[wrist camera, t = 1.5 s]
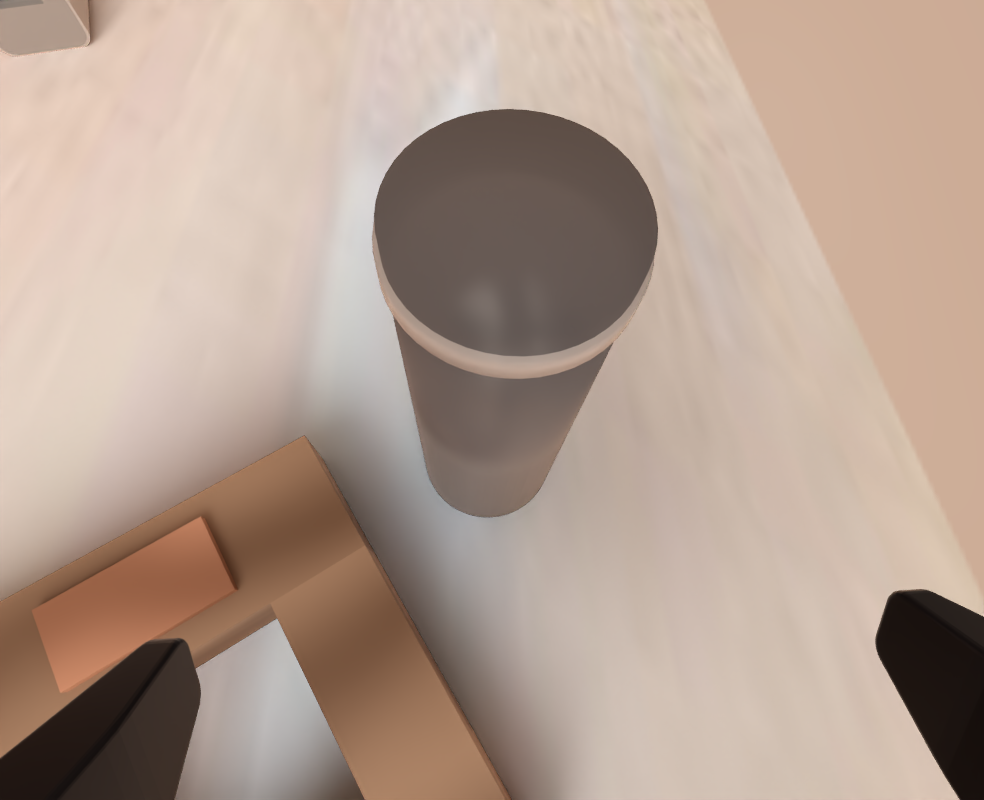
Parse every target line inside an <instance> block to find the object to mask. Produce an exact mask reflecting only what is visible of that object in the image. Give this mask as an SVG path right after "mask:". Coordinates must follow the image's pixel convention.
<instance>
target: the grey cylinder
mask: <svg viewBox="0 0 984 800" xmlns="http://www.w3.org/2000/svg"><path fill="white" fill-rule="evenodd" d="M657 235H658V225H657V216H656V211H655V207H654V203H653V199H652V197H651V194H650V192H649V190H648V187H647V185H646V183H645V182H644V180H643V178H642V177H641V175H640V173H639V172H638V170H637V169H636V168H635V167H634V165H633V164H632V163H631V162H630V160H629V159H628V158H627V157H626V156H625V155H624V154H623V153H622V152H621V151H620V150H619V149H618V148H616V147H615V146H614V145H612V144H611V143H610V142H609V141H607V140H606V139H605V138H603V137H602V136H600V135H598V134H597V133H595V132H593V131H592V130H590V129H588V128H586V127H584V126H582V125H580V124H578V123H575V122H573V121H570V120H567V119H564V118H562V117H558V116H554V115H550V114H546V113H542V112H535V111H529V110H514V109H504V110H489V111H483V112H476V113H472V114H468V115H464V116H460V117H457V118H455V119H452V120H449V121H447V122H444V123H442V124H440V125H438V126H436V127H434V128H432V129H430V130H429V131H427V132H426V133H424V134H423V135H421V136H420V137H418V138H417V139H415V140H414V141H413V142H412V143H411V144H410V145H408V146H407V147H406V148H405V149H404V150H403V151H402V152H401V153H400V155H399V156H398V157H397V158H396V159H395V160H394V162H393V163H392V165H391V166H390V168H389V169H388V171H387V172H386V174H385V177H384V179H383V181H382V183H381V185H380V188H379V192H378V195H377V199H376V204H375V213H374V225H373V234H372V243H373V255H374V260H375V265H376V269H377V274H378V278H379V282H380V286H381V290H382V293H383V295H384V298H385V301H386V303H387V305H388V307H389V309H390V310H391V312H392V314H393V317H394V322H395V326H396V331H397V335H398V340H399V344H400V349H401V354H402V358H403V363H404V367H405V372H406V376H407V381H408V385H409V390H410V395H411V399H412V404H413V408H414V413H415V417H416V422H417V427H418V431H419V436H420V440H421V445H422V449H423V454H424V458H425V463H426V468H427V472H428V475H429V478H430V481H431V483H432V485H433V487H434V488H435V490H436V491H437V492H438V494H439V495H440V496H441V497H442V498H443V499H444V500H445V501H446V502H447V503H448V504H449V505H451V506H452V507H454V508H456V509H457V510H459V511H461V512H464V513H466V514H469V515H473V516H478V517H497V516H502V515H506V514H509V513H512V512H514V511H516V510H518V509H520V508H521V507H523V506H524V505H526V504H527V503H528V502H529V501H530V500H531V499H532V498H533V497H534V496H535V495H536V494H537V492H538V491H539V489H540V488H541V486H542V484H543V482H544V480H545V478H546V476H547V474H548V472H549V470H550V468H551V466H552V464H553V462H554V460H555V458H556V456H557V454H558V452H559V450H560V448H561V446H562V444H563V442H564V440H565V438H566V436H567V434H568V432H569V430H570V428H571V426H572V424H573V422H574V420H575V418H576V416H577V414H578V412H579V410H580V408H581V406H582V404H583V402H584V400H585V398H586V396H587V394H588V392H589V390H590V388H591V386H592V384H593V382H594V380H595V378H596V376H597V374H598V372H599V370H600V368H601V366H602V364H603V362H604V360H605V358H606V356H607V354H608V352H609V350H610V348H611V346H612V344H613V342H614V341H615V340H616V339H617V338H618V337H619V335H620V334H621V333H622V332H623V331H624V329H625V328H626V327H627V325H628V324H629V322H630V320H631V318H632V317H633V315H634V313H635V312H636V310H637V308H638V306H639V304H640V302H641V300H642V298H643V296H644V294H645V292H646V289H647V287H648V284H649V282H650V279H651V275H652V270H653V266H654V255H655V250H656V246H657Z"/></svg>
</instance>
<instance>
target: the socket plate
mask: <svg viewBox="0 0 984 800" xmlns="http://www.w3.org/2000/svg"><path fill="white" fill-rule="evenodd" d="M276 618H277V619H278V621H279V623H280V625H281V627H282V629H283V631H284V633H285V635H286V637H287V639H288V641H289V644H290V646H291V648H292V650H293V652H294V654H295V656H296V658H297V660H298V662H299V664H300V666H301V668H302V671H303V673H304V675H305V677H306V679H307V681H308V683H309V685H310V687H311V689H312V691H313V693H314V695H315V698H316V700H317V702H318V704H319V706H320V708H321V710H322V712H323V714H324V716H325V718H326V720H327V722H328V724H329V727H330V729H331V731H332V733H333V735H334V737H335V739H336V741H337V743H338V745H339V747H340V749H341V751H342V754H343V756H344V758H345V760H346V762H347V764H348V766H349V768H350V770H351V772H352V774H353V776H354V778H355V781H356V783H357V785H358V787H359V789H360V791H361V793H362V795H363V797H364V799H365V800H512V799H511V798H510V796H509V794H508V792H507V790H506V789H505V787H504V785H503V783H502V781H501V780H500V778H499V776H498V774H497V772H496V770H495V769H494V767H493V765H492V763H491V761H490V760H489V758H488V756H487V754H486V752H485V751H484V749H483V747H482V745H481V743H480V742H479V740H478V738H477V736H476V734H475V733H474V731H473V729H472V727H471V725H470V724H469V722H468V720H467V718H466V716H465V715H464V713H463V711H462V709H461V707H460V706H459V704H458V702H457V700H456V698H455V697H454V695H453V693H452V691H451V689H450V688H449V686H448V684H447V682H446V680H445V679H444V677H443V675H442V673H441V671H440V670H439V668H438V666H437V664H436V662H435V661H434V659H433V657H432V655H431V653H430V652H429V650H428V648H427V646H426V644H425V643H424V641H423V639H422V637H421V635H420V634H419V632H418V630H417V628H416V626H415V625H414V623H413V621H412V619H411V617H410V616H409V614H408V612H407V610H406V608H405V607H404V605H403V603H402V601H401V599H400V598H399V596H398V594H397V592H396V590H395V589H394V587H393V585H392V583H391V581H390V580H389V578H388V576H387V574H386V572H385V571H384V569H383V567H382V565H381V563H380V562H379V560H378V558H377V556H376V554H375V553H374V551H373V549H372V547H371V545H370V544H369V542H368V540H367V538H366V536H365V535H364V533H363V531H362V529H361V527H360V526H359V524H358V522H357V520H356V518H355V517H354V515H353V513H352V511H351V509H350V508H349V506H348V504H347V502H346V500H345V499H344V497H343V495H342V493H341V491H340V490H339V488H338V486H337V484H336V482H335V481H334V479H333V477H332V475H331V473H330V472H329V470H328V468H327V466H326V464H325V463H324V461H323V459H322V457H321V456H320V455H319V454H318V452H317V451H316V450H315V448H314V447H313V446H312V445H311V443H310V442H309V441H308V440H307V438H306V437H305V436H303V437H301V438H299V439H297V440H295V441H293V442H292V443H290V444H288V445H286V446H284V447H282V448H281V449H279V450H277V451H275V452H273V453H271V454H270V455H268V456H266V457H264V458H262V459H260V460H259V461H257V462H255V463H253V464H251V465H249V466H248V467H246V468H244V469H242V470H240V471H238V472H237V473H235V474H233V475H231V476H229V477H227V478H226V479H224V480H222V481H220V482H218V483H216V484H215V485H213V486H211V487H209V488H207V489H205V490H204V491H202V492H200V493H198V494H196V495H195V496H193V497H191V498H189V499H187V500H185V501H184V502H182V503H180V504H178V505H176V506H174V507H173V508H171V509H169V510H167V511H165V512H163V513H162V514H160V515H158V516H156V517H154V518H152V519H151V520H149V521H147V522H145V523H143V524H141V525H140V526H138V527H136V528H134V529H132V530H130V531H129V532H127V533H125V534H123V535H121V536H119V537H118V538H116V539H114V540H112V541H110V542H108V543H107V544H105V545H103V546H101V547H99V548H97V549H96V550H94V551H92V552H90V553H88V554H87V555H85V556H83V557H81V558H79V559H77V560H76V561H74V562H72V563H70V564H68V565H66V566H65V567H63V568H61V569H59V570H57V571H55V572H54V573H52V574H50V575H48V576H46V577H44V578H43V579H41V580H39V581H37V582H35V583H33V584H32V585H30V586H28V587H26V588H24V589H22V590H21V591H19V592H17V593H15V594H13V595H11V596H10V597H8V598H6V599H4V600H2V601H0V758H1V757H2V756H3V755H4V754H6V753H7V752H8V751H9V750H11V749H12V748H13V747H14V746H16V745H17V744H18V743H19V742H21V741H22V740H23V739H24V738H26V737H27V736H28V735H29V734H31V733H32V732H33V731H34V730H36V729H37V728H38V727H39V726H41V725H42V724H43V723H44V722H46V721H47V720H48V719H49V718H51V717H52V716H53V715H54V714H56V713H57V712H58V711H59V710H61V709H62V708H63V707H64V706H66V705H67V704H68V703H69V702H71V701H72V700H73V699H74V698H76V697H77V696H78V695H79V694H81V693H82V692H83V691H84V690H86V689H87V688H88V687H89V686H91V685H92V684H93V683H94V682H96V681H97V680H98V679H99V678H101V677H102V676H103V675H104V674H106V673H107V672H108V671H109V670H111V669H112V668H113V667H114V666H116V665H117V664H118V663H119V662H121V661H122V660H123V659H124V658H126V657H127V656H128V655H129V654H131V653H132V652H133V651H134V650H136V649H137V648H138V647H139V646H141V645H142V644H144V643H145V642H147V641H149V640H153V639H167V638H182V639H184V640H185V641H186V642H187V643H188V646H189V648H190V652H191V655H192V659H193V662H194V666H195V668H197V667H199V666H200V665H202V664H204V663H205V662H207V661H208V660H210V659H212V658H213V657H215V656H217V655H218V654H220V653H221V652H223V651H225V650H226V649H228V648H229V647H231V646H233V645H234V644H236V643H238V642H239V641H241V640H242V639H244V638H246V637H247V636H249V635H251V634H252V633H254V632H255V631H257V630H259V629H260V628H262V627H263V626H265V625H267V624H268V623H270V622H272V621H273V620H275V619H276Z"/></svg>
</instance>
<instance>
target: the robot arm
mask: <svg viewBox="0 0 984 800" xmlns="http://www.w3.org/2000/svg"><path fill="white" fill-rule="evenodd" d="M875 644H876V649H877V652H878V655H879V658H880V660H881V662H882V664H883V665H884V667H885V669H886V671H887V673H888V674H889V676H890V678H891V680H892V682H893V684H894V685H895V687H896V689H897V691H898V693H899V695H900V696H901V698H902V700H903V702H904V704H905V706H906V707H907V709H908V711H909V713H910V715H911V716H912V718H913V720H914V722H915V724H916V726H917V727H918V729H919V731H920V733H921V735H922V737H923V738H924V740H925V742H926V744H927V746H928V748H929V749H930V751H931V753H932V755H933V757H934V758H935V760H936V762H937V764H938V765H939V767H940V769H941V770H942V772H943V774H944V776H945V777H946V779H947V780H948V782H949V784H950V785H951V787H952V788H953V790H954V791H955V793H956V795H957V796H958V798H959V799H960V800H984V617H983V616H981V615H979V614H977V613H975V612H973V611H971V610H969V609H967V608H965V607H963V606H960V605H958V604H956V603H954V602H952V601H950V600H948V599H946V598H944V597H942V596H940V595H938V594H936V593H934V592H931V591H928V590H923V589H916V590H900V591H895V592H893V593H892V594H891V595H890V596H889V598H888V600H887V603H886V606H885V609H884V612H883V615H882V618H881V621H880V624H879V628H878V631H877V634H876V639H875ZM200 697H201V690H200V683H199V680H198V676H197V673H196V669H195V666H194V662H193V659H192V655H191V652H190V648H189V646H188V643H187V642H186V641H185V640H184V639H182V638H167V639H153V640H149V641H147V642H145V643H144V644H142V645H141V646H139V647H138V648H137V649H136V650H134V651H133V652H132V653H131V654H129V655H128V656H127V657H126V658H124V659H123V660H122V661H121V662H119V663H118V664H117V665H116V666H114V667H113V668H112V669H111V670H109V671H108V672H107V673H106V674H104V675H103V676H102V677H101V678H99V679H98V680H97V681H96V682H94V683H93V684H92V685H91V686H89V687H88V688H87V689H86V690H84V691H83V692H82V693H81V694H79V695H78V696H77V697H76V698H74V699H73V700H72V701H71V702H69V703H68V704H67V705H66V706H64V707H63V708H62V709H61V710H59V711H58V712H57V713H56V714H54V715H53V716H52V717H51V718H49V719H48V720H47V721H46V722H44V723H43V724H42V725H41V726H39V727H38V728H37V729H36V730H34V731H33V732H32V733H31V734H29V735H28V736H27V737H26V738H24V739H23V740H22V741H21V742H19V743H18V744H17V745H16V746H14V747H13V748H12V749H11V750H9V751H8V752H7V753H6V754H4V755H3V756H2V757H1V758H0V800H174V799H175V795H176V791H177V788H178V784H179V780H180V777H181V773H182V769H183V765H184V762H185V758H186V754H187V750H188V747H189V743H190V739H191V735H192V732H193V728H194V724H195V720H196V717H197V713H198V709H199V705H200Z"/></svg>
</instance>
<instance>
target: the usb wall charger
mask: <svg viewBox="0 0 984 800" xmlns="http://www.w3.org/2000/svg"><path fill="white" fill-rule="evenodd" d="M89 42H90V27H89V6H88V0H0V50H1V51H2V52H4V53H6V54H8V55H11V56H14V57H18V56H25V55H32V54H39V53H46V52H53V51H60V50H67V49H74V48H81V47H86V46H87V45H88V44H89Z"/></svg>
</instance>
